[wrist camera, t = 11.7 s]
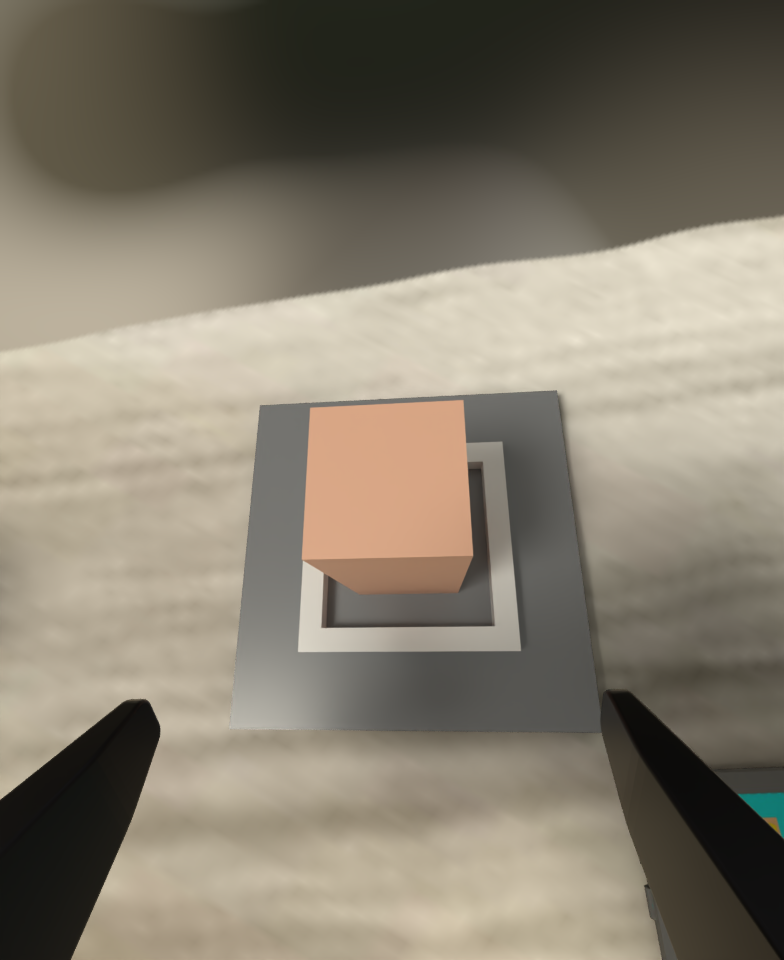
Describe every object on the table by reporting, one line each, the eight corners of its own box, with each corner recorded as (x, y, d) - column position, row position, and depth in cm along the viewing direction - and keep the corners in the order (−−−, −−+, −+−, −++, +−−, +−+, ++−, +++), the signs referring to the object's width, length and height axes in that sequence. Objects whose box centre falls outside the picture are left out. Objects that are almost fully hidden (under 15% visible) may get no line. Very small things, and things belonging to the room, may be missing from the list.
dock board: (594, 727, 21) (611, 737, 18) (240, 724, 22) (219, 733, 20) (551, 401, 26) (561, 380, 24) (267, 415, 27) (253, 396, 25)
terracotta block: (453, 497, 23) (463, 400, 14) (458, 593, 22) (473, 555, 12) (360, 500, 24) (310, 408, 14) (359, 594, 22) (301, 559, 13)
